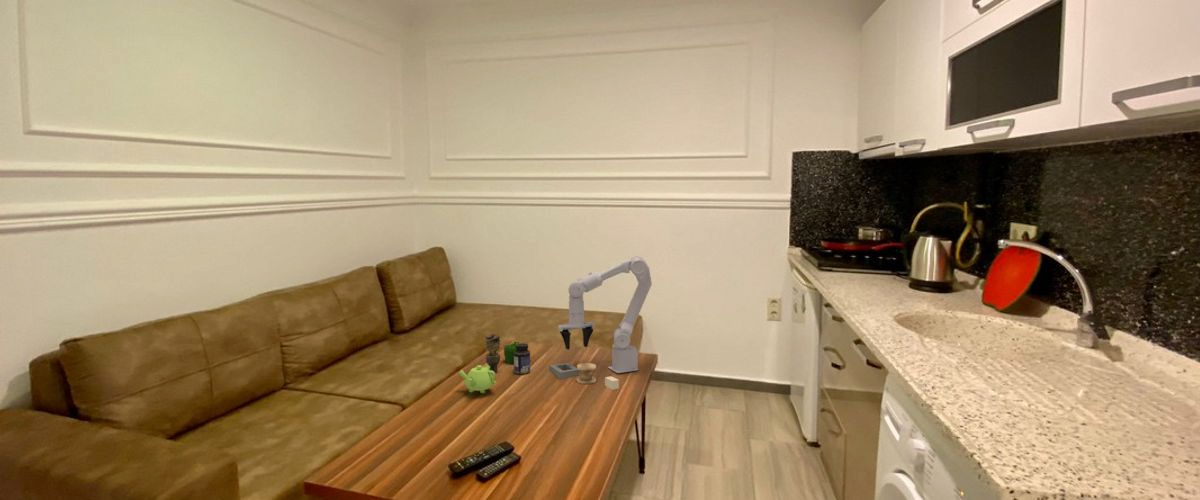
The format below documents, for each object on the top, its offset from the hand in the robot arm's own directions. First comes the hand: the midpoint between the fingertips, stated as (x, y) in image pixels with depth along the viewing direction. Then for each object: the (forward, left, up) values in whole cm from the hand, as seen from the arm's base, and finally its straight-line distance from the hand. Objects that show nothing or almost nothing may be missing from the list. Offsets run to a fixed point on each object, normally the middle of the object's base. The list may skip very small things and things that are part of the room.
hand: (576, 347), depth 198 cm
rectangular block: (-3, +22, -9) cm, 24 cm away
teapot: (+39, +4, -10) cm, 41 cm away
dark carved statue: (+30, -12, -10) cm, 33 cm away
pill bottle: (+20, -7, -10) cm, 23 cm away
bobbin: (+2, +12, -9) cm, 15 cm away
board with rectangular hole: (+6, +1, -9) cm, 11 cm away
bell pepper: (+19, -19, -10) cm, 28 cm away
